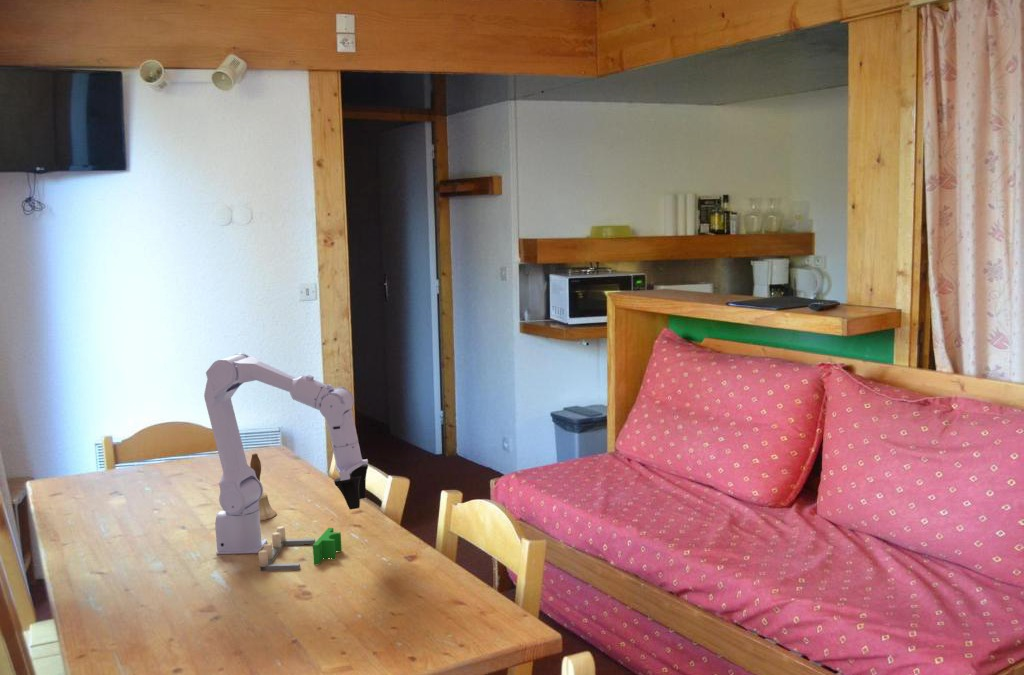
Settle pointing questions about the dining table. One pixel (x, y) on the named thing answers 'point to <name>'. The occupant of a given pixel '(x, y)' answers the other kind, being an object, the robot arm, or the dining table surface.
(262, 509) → the hand bell
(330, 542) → the pipe clamp
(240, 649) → the dining table surface
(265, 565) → the peg cradle
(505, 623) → the dining table surface
